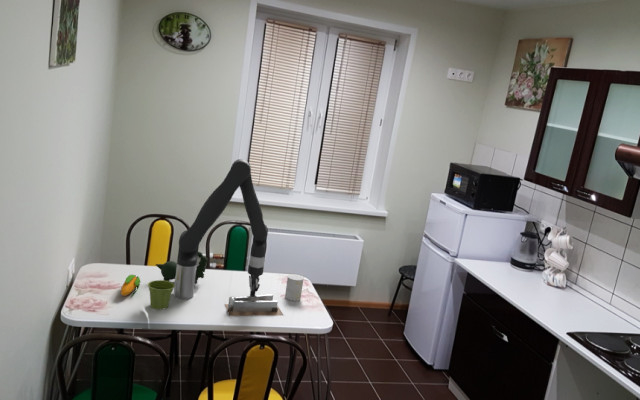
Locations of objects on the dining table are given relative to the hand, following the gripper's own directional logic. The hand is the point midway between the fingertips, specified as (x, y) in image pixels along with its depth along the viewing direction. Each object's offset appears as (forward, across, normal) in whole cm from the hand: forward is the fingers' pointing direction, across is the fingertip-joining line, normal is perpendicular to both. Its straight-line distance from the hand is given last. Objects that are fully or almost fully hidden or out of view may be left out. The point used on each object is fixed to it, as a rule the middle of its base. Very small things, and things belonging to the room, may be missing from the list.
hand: (252, 297), depth 268 cm
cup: (+3, -5, +23) cm, 24 cm away
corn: (+3, -13, -57) cm, 58 cm away
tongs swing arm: (+2, +6, -1) cm, 6 cm away
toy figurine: (+3, -26, -32) cm, 42 cm away
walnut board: (+3, +10, -1) cm, 10 cm away
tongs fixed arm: (+2, +10, -2) cm, 11 cm away
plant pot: (+3, +4, -44) cm, 44 cm away
